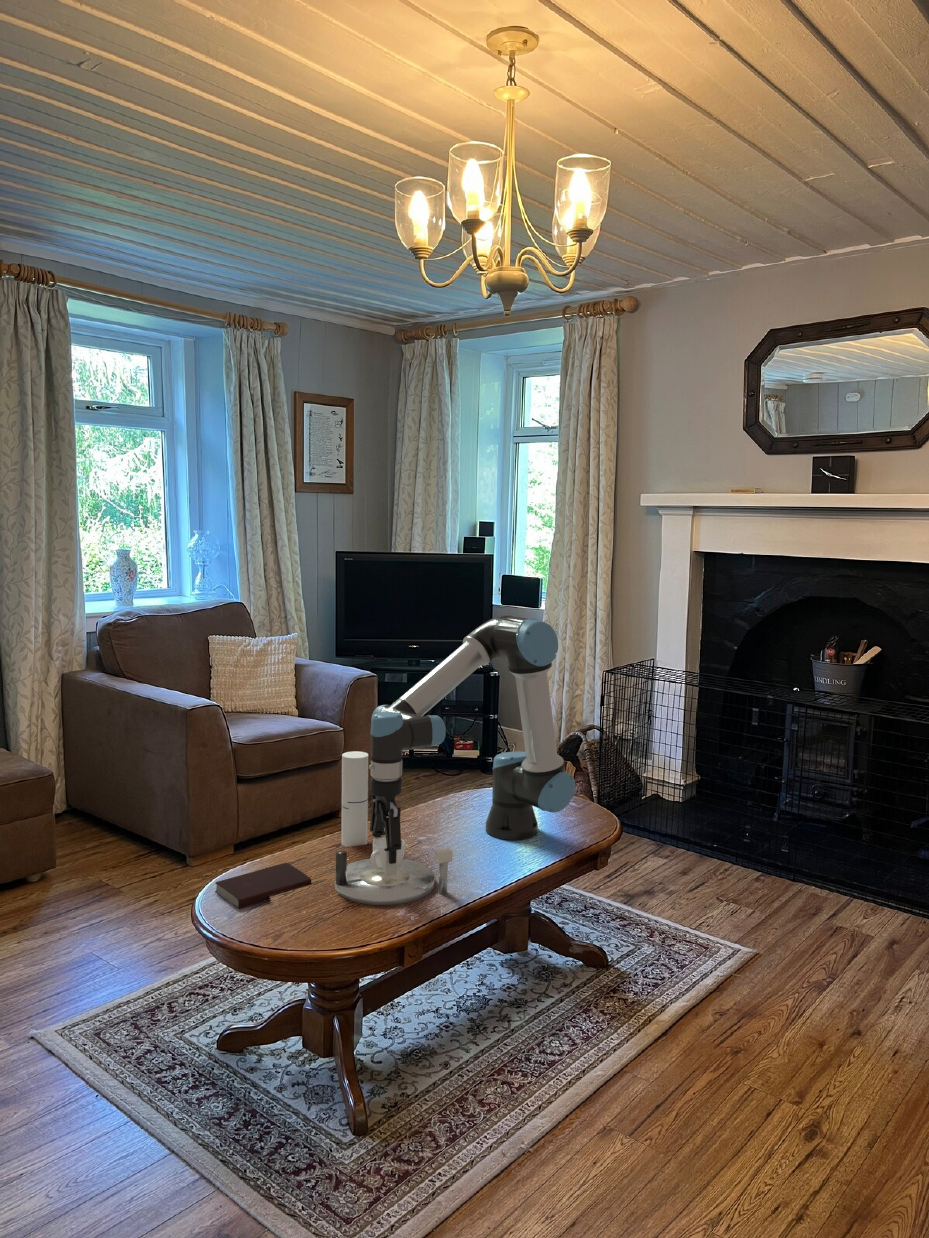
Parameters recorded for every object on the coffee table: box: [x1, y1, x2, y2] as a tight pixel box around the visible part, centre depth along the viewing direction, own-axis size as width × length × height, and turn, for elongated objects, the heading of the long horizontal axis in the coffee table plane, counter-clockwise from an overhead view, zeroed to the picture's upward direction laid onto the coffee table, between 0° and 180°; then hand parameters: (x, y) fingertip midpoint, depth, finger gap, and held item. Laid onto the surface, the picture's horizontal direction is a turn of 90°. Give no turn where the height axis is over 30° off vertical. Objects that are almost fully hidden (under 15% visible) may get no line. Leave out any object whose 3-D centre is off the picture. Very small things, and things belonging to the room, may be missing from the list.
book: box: [214, 862, 312, 909], centre depth 215 cm, size 12×19×3 cm, turn 131°
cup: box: [369, 836, 406, 872], centre depth 216 cm, size 8×10×7 cm
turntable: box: [334, 850, 435, 906], centre depth 216 cm, size 24×24×10 cm
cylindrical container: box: [341, 750, 369, 848], centre depth 246 cm, size 7×7×25 cm
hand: (384, 868), depth 216 cm, fingers closed on cup, 8 cm apart
